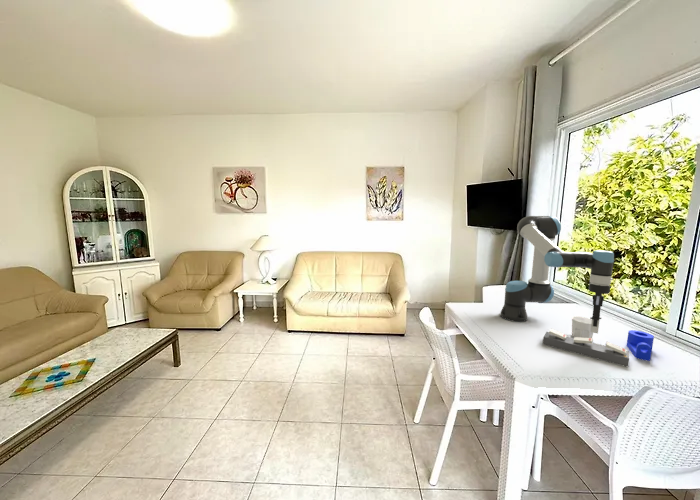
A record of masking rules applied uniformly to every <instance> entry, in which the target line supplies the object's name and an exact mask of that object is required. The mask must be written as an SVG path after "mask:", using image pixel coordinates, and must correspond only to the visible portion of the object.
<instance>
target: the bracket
mask: <svg viewBox="0 0 700 500" xmlns="http://www.w3.org/2000/svg"><path fill="white" fill-rule="evenodd" d="M654 338H655V337H654V335H653V334H651V333H648V332H644V331H642V330H641V331H640V330H633V329H632V330H631V329H630V330H628V332H627V340H626V347H627V348H628V350H629V351H630V353H631V354H632V355H633V356H634V358H635V359H638V358H639V360H642V359H643V361H646V360H647V362H651V357H652V350H653V344H654V340H655V339H654Z"/></svg>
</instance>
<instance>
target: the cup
mask: <svg viewBox="0 0 700 500" xmlns="http://www.w3.org/2000/svg"><path fill="white" fill-rule="evenodd" d="M591 323H592V319H590V317H583V316H572V317H571V336H573V338H575V337H581V338H593V336H594V333H593V332H591Z"/></svg>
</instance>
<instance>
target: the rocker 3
mask: <svg viewBox="0 0 700 500" xmlns="http://www.w3.org/2000/svg"><path fill="white" fill-rule="evenodd" d="M605 347H607V348H609V349H612V350H614V351H617V352H619V353H622V354H624V355H625V354H626V351H627V349H626V348H623V347H621V346H618V345H616V344H614V343H611V342H609V341H606V342H605Z"/></svg>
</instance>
